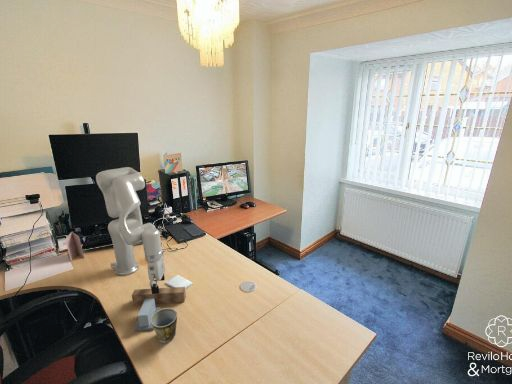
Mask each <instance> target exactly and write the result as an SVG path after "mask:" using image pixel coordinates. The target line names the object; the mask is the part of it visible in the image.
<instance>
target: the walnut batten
mask: <svg viewBox="0 0 512 384" xmlns="http://www.w3.org/2000/svg"><path fill="white" fill-rule="evenodd" d="M186 295H187V294H186V290H185V287H173V288H172V287H159V294H152V291H151V288H142V289H141V288H140V289H139V288H138V289H134V290H133V292H132V294H131V299H132V306H142V305H143V303H144V301H145V299H154V300H155V305H156V304H157V305H160V304H161V305H162V304H172V303H173V304H174V303H185V301H186V298H187V296H186Z"/></svg>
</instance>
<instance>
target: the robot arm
mask: <svg viewBox="0 0 512 384" xmlns="http://www.w3.org/2000/svg"><path fill="white" fill-rule="evenodd" d="M95 182H96V185H97V186H98V189H100V191H101V193H102V194H103V198H104V201H105V208H106V212H107V215H108V216H109V217H110V218H112V219H114V220H112V221H110V222H109V223H108V226H107V230H108V233H109V235H110V238H111V241H112V245H113V246H112V247H113V250H114V256H115V262H110V269H114V272H115V274H116V276H129V275H131V274H133V273H135V272H136V271H138V270H139V268H140V264H139V262H137V261H136V258H135V252H134V245H137V244H140V243H142V245H143V252H144V257H145V261H146V262H147V263H146V264H147V274H148V279H149V287H150V289H151V291H152V294H159V288H160V287H159V285H158V284H159V282H160V281H161V282H162V281H165V272H166V265H165V262H164V255H163V248H162V247H163V246H162V239H161V234H160V230H159V229H158V228H156V226H155V225H154V224H153V223H152V222H147V223H144V224H143V218H142V213H141V208H140V206H141V201H140V198H139V195H138V193H137V191H141V190H143V189H144V188H145V187H146V181H145V180H144V177H143V176H142V175H141V174H140V172H139V171H137V170H135V169H134V168H133V167H129V166H126V167H120V168H119V167H118V168H113V169H106V170H102V171H100V172H98V173H97V174H96V175H95ZM154 282H155V283H154Z"/></svg>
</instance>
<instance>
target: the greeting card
mask: <svg viewBox="0 0 512 384" xmlns="http://www.w3.org/2000/svg"><path fill="white" fill-rule="evenodd" d="M80 239H81V238H80V236H79V235H77V234H76V233H74V231H71V232H70V233H69V234H68V236H66V238H65V243H66V248H67V251H68V256H69V259H70V262H73V259H74V258H75V256H76V255H77V254H79V255H80V256H81V257H82V258H85V256H84V251H83V247H82V243H81V240H80Z"/></svg>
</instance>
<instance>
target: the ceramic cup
mask: <svg viewBox="0 0 512 384" xmlns="http://www.w3.org/2000/svg"><path fill="white" fill-rule="evenodd" d="M177 322H178V313H177V311H176V310H175V309H174V308H169V307H167V308H166V307H165V308H161V310H159V311H157V312H156V313H155V314H154V315H153V316H152V318H151V323H152V326H153V328H154V330H153V331H154V332H155V335H156V336H157V339H158V341H159V342H160V343H163V344H167V343H170V342H172V341H173V340H174V338H175V336H176V333H177V332H176V330H177Z"/></svg>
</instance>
